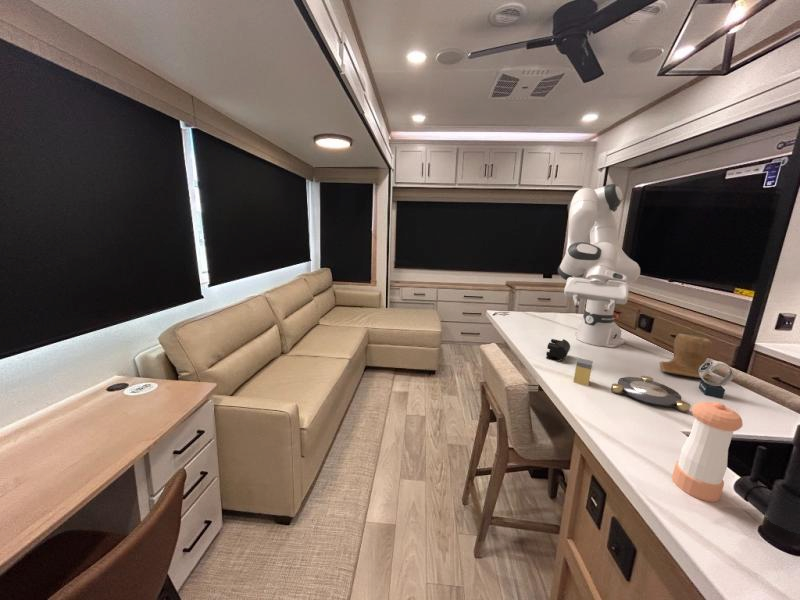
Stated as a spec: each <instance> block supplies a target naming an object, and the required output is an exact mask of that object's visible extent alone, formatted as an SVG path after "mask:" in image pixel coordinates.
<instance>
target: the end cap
mask: <svg viewBox="0 0 800 600" xmlns="http://www.w3.org/2000/svg"><path fill="white" fill-rule="evenodd" d="M570 348H571V345H570V343H569V341H567V339H564V338H563V339H562V340H559V339H556V338H555V339H554V338H551V339H550V342H548V344H547V348H546V349H547V350H548V351H546V356H545V359H546V360H551V361H555V362H562V361H563V360H565V358H567V355H568V353H569V352H570Z"/></svg>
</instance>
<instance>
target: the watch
mask: <svg viewBox="0 0 800 600" xmlns="http://www.w3.org/2000/svg"><path fill="white" fill-rule="evenodd" d="M720 365H722V366H725V367H727V368H729V372H728V374H726V376H725V377H724V378H722V379H720V381H718V382H717V381H711V380H708V379H704V378H703V377H704V376H705V375H706V374H709V375H710V374H711V373H713V372H714V371H715V369H716V368H717V367H719V366H720ZM698 371H699V375H700V377H701V378H700V381H699V385H698V388H699V390H700V391H701V392H702V394H703V395H704V396H707V397H713V398H716V399H723V398H724V395H725V393H726V389H725V388H724V387H723V386H726V385H727V384H729V383H730V382H731V381H733V379H734V377H735V376H734V375H735V371H734V370H733V368H732V367H731V366H729V365H728V364H727V363H726V362H724V361H719V360H708V361H707V360H706V361H705V362H704V363H703V364H702V365H701V366H700V367H699V369H698Z"/></svg>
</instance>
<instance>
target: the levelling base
mask: <svg viewBox="0 0 800 600" xmlns="http://www.w3.org/2000/svg"><path fill="white" fill-rule="evenodd" d="M610 391H611V392H613V393H614V394H615V393H616V394H619V395H620V394H621V395H623V394H624V395H626V394H627V395H626V396H629V397H632V398H634V399H636V400H639V401H642V402H644V403H648V404H651V405H654V406H660V407H661V406H663V407H671V408H673V407H674V408H675V409H676V410H678V411H681V412H684V413H689V412H690V409H691V404H690V403H688V402H686V401H684V400H682V396H681V395H680V393H679V392H678V391H676V390H674V389H673V388H671V387H670V386H667V385H665V384H664V383H663V384H662V383H660V382H657V381H654V379H653V378H652V377H651V376H647V375H641V376H640V377H638V376H637V377H636V376H635V377H634V376H624V377H620V378H618V380H617V383H611V388H610Z"/></svg>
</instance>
